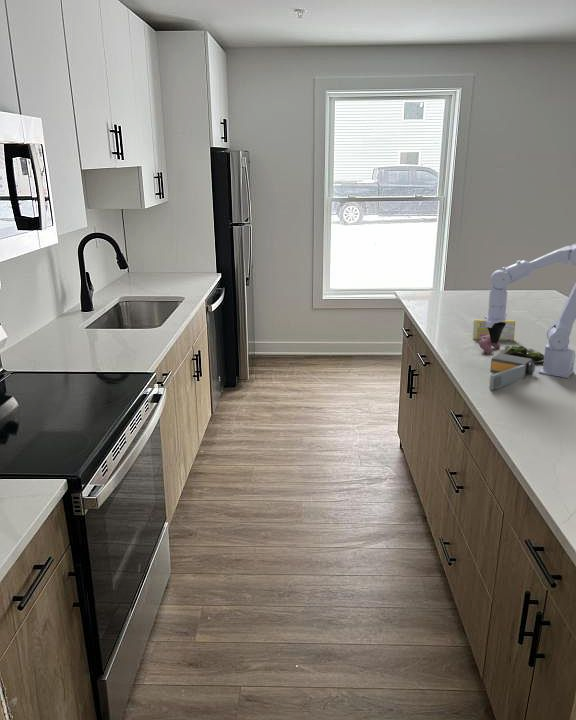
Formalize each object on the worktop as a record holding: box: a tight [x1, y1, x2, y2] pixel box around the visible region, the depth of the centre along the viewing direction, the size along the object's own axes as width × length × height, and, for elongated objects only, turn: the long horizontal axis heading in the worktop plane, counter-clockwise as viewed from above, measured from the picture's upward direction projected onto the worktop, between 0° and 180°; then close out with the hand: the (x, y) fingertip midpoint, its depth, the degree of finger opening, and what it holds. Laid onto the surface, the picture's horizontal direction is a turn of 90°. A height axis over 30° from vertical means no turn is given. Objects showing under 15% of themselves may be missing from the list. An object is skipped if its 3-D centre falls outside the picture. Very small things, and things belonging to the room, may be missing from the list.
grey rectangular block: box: [490, 353, 536, 378], centre depth 205 cm, size 13×7×5 cm, turn 51°
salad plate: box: [496, 344, 545, 366], centre depth 221 cm, size 19×18×5 cm
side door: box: [488, 364, 526, 391], centre depth 194 cm, size 17×2×5 cm, turn 124°
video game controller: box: [478, 335, 501, 355], centre depth 230 cm, size 10×5×7 cm, turn 142°
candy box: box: [472, 319, 516, 342], centre depth 243 cm, size 16×2×8 cm, turn 74°
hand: (494, 342), depth 208 cm, fingers closed
